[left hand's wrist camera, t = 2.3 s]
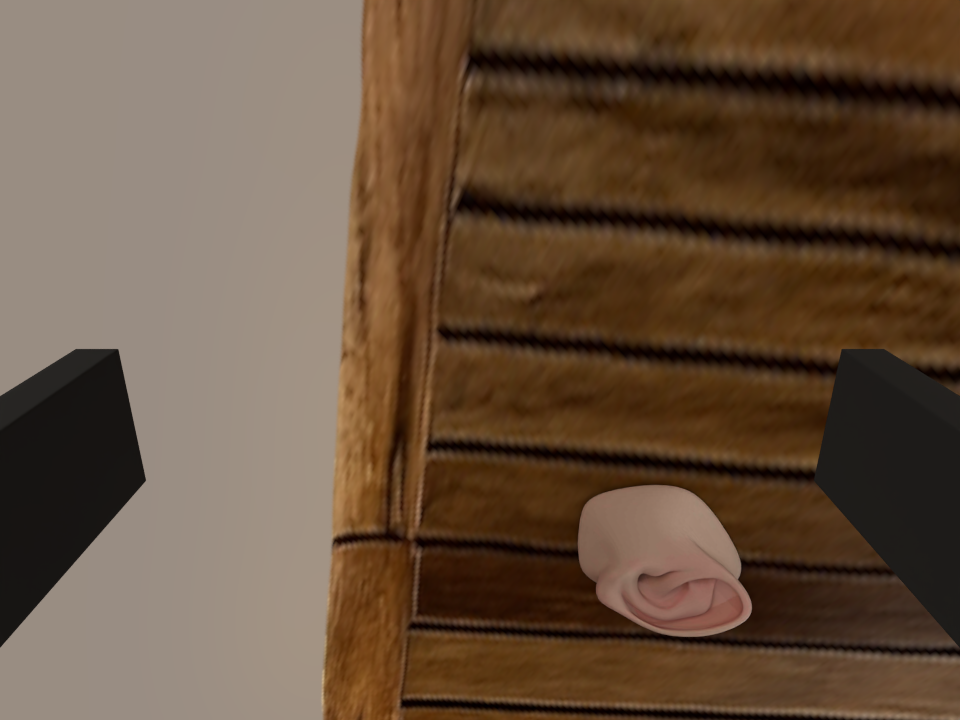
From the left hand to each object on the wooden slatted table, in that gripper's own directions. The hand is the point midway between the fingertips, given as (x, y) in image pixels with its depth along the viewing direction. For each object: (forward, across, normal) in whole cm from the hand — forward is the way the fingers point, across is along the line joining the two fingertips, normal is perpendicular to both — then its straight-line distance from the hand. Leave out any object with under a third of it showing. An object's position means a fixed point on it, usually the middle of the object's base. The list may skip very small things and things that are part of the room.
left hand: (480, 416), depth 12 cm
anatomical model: (+32, +14, -27) cm, 44 cm away
